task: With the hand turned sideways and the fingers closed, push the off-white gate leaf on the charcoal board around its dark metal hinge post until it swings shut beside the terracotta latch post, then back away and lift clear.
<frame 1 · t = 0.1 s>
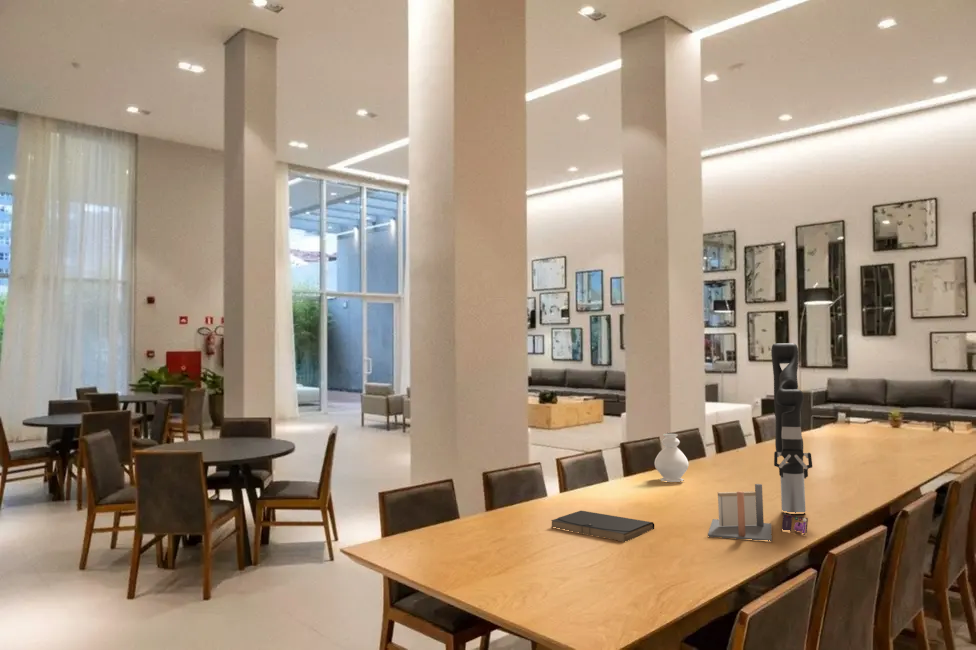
hand: (793, 477, 265), 17 cm above the table, tool pointing down, fingers open, 8 cm apart
game card: (796, 533, 246), on the table
gate leaf: (737, 508, 253), point 8 cm above the table, hinge at -45.0°
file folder: (602, 530, 258), on the table
decorative vase: (672, 481, 352), on the table
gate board: (740, 531, 249), on the table
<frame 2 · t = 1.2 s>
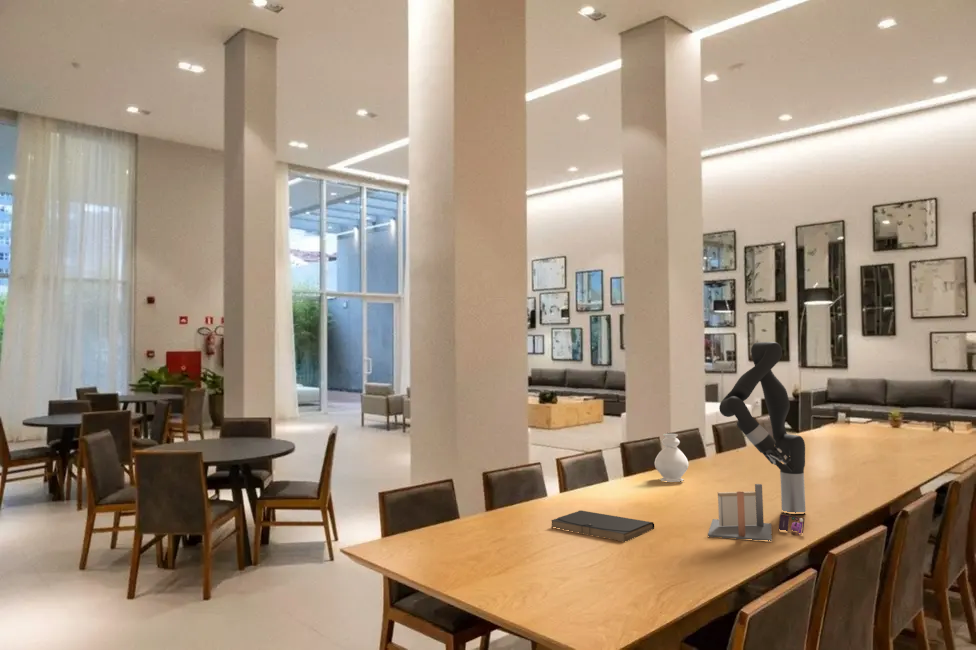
hand: (789, 470, 255), 22 cm above the table, tool tilted 40°, fingers open, 8 cm apart
game card: (792, 533, 246), on the table
everything else where it was.
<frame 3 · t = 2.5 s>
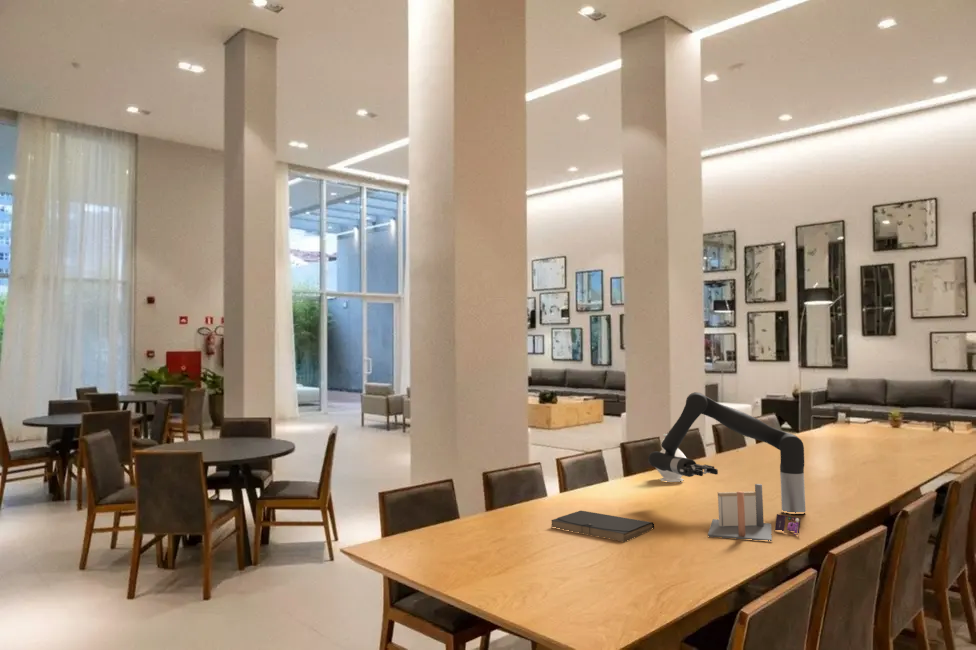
hand: (709, 472, 264), 20 cm above the table, tool horizontal, fingers open, 7 cm apart
game card: (789, 533, 246), on the table
everything else where it was.
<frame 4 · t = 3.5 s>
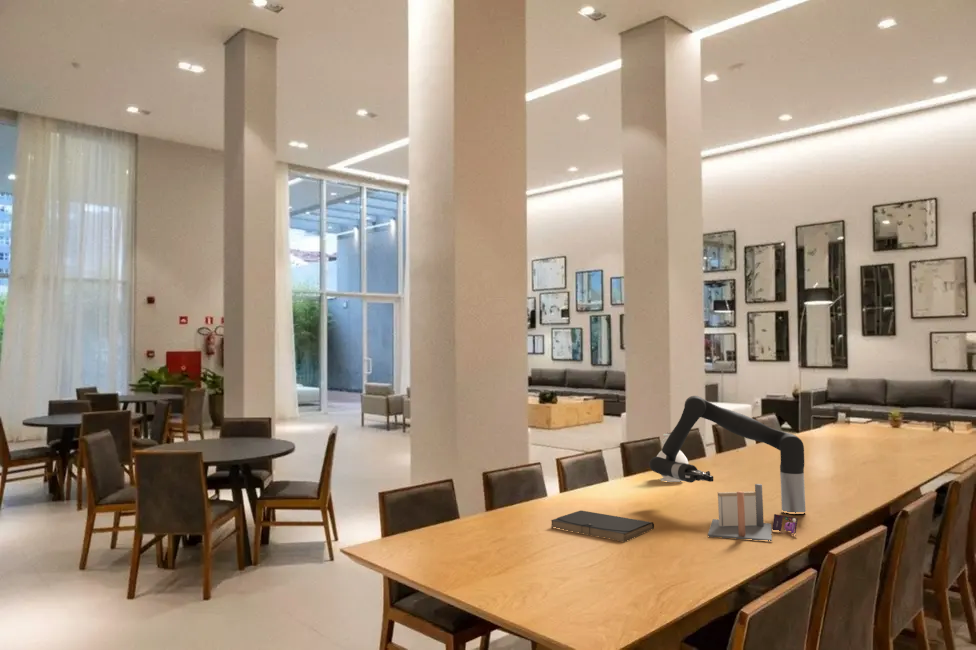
hand: (712, 479, 263), 18 cm above the table, tool horizontal, fingers closed
game card: (786, 533, 246), on the table
everything else where it was.
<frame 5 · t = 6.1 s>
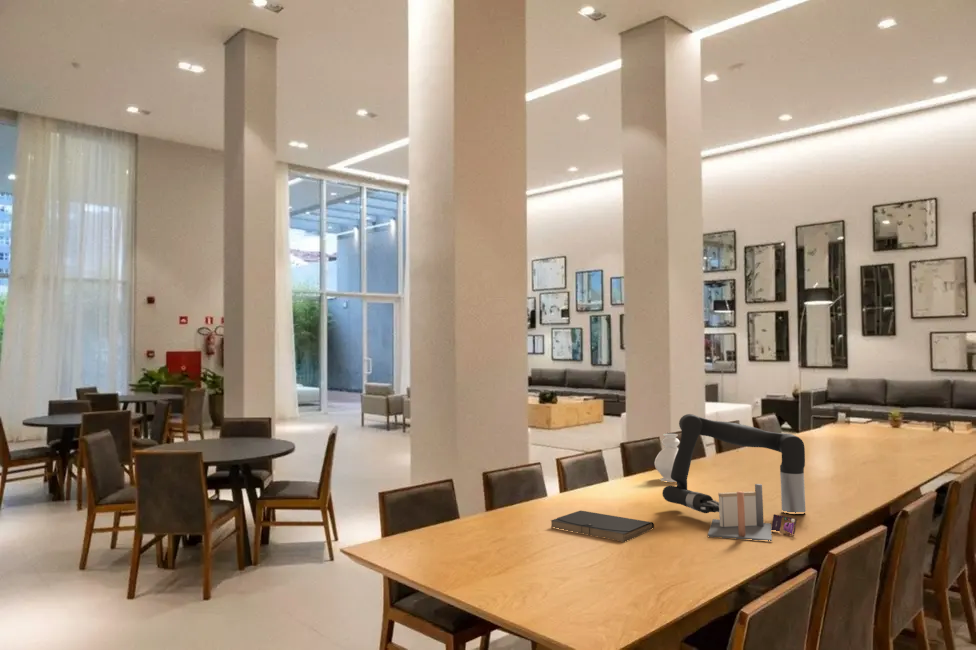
hand: (728, 511, 253), 7 cm above the table, tool horizontal, fingers closed
gate leaf: (737, 509, 253), point 8 cm above the table, hinge at -41.9°, touching gripper
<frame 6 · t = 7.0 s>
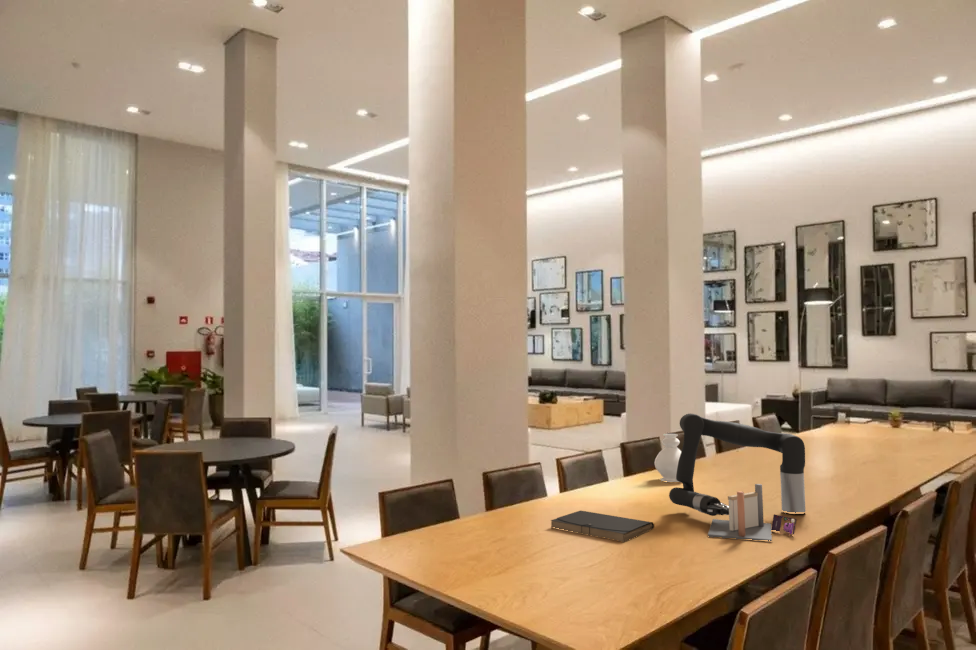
hand: (736, 513, 249), 7 cm above the table, tool horizontal, fingers closed
gate leaf: (743, 511, 249), point 8 cm above the table, hinge at -18.8°, touching gripper
everything else where it was.
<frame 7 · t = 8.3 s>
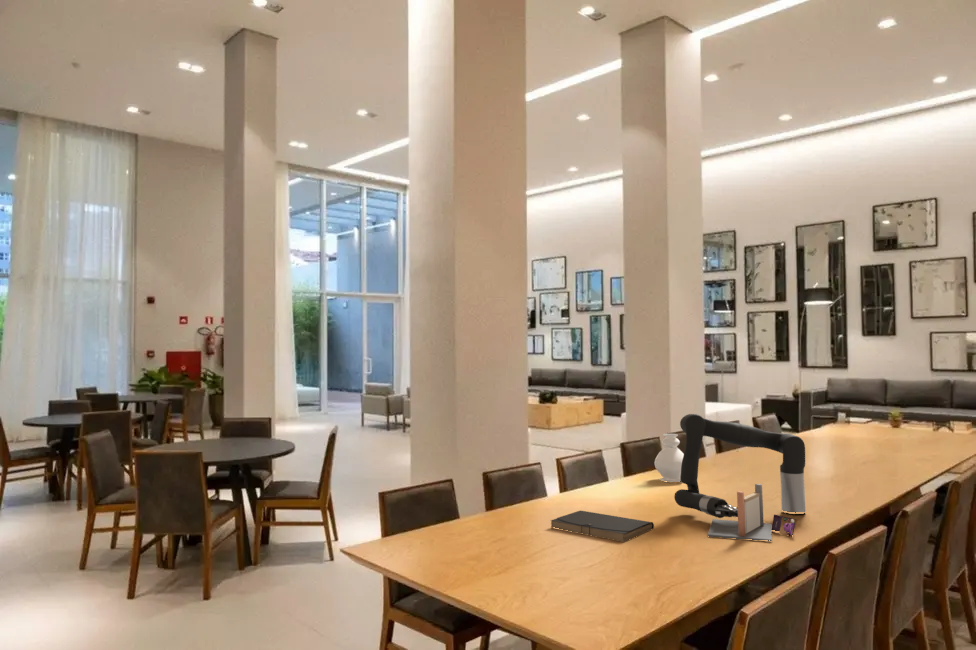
hand: (744, 515, 245), 7 cm above the table, tool horizontal, fingers closed
gate leaf: (750, 512, 247), point 8 cm above the table, hinge at 0.2°, touching gripper
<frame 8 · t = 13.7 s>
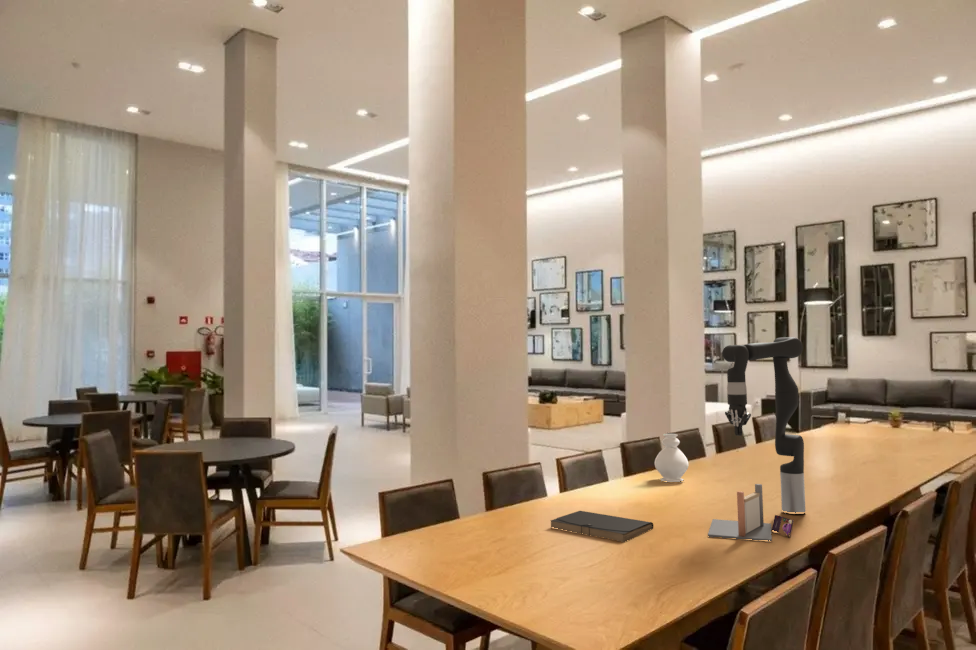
hand: (738, 435, 266), 35 cm above the table, tool pointing down, fingers closed
game card: (784, 535, 244), on the table
gate leaf: (750, 512, 247), point 8 cm above the table, hinge at 0.2°
everything else where it was.
at the end: gate leaf at +0° (first picture: -45°) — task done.
